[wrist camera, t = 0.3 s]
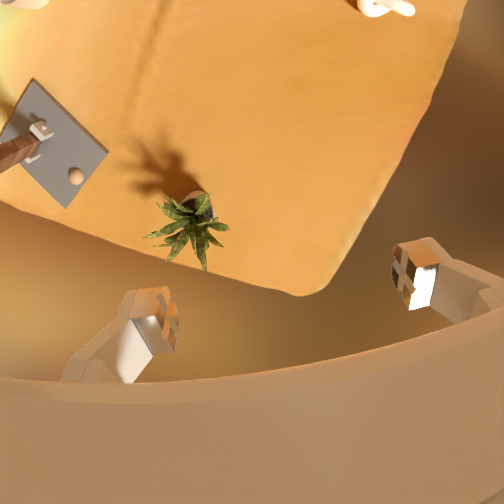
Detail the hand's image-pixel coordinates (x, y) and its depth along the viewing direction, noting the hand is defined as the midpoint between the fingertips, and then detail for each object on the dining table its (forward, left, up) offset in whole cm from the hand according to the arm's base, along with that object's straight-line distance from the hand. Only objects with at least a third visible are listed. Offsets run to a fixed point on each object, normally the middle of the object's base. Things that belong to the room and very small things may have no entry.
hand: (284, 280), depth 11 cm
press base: (-7, -39, -48) cm, 62 cm away
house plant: (+13, -12, -48) cm, 51 cm away
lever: (-9, -40, -44) cm, 60 cm away
